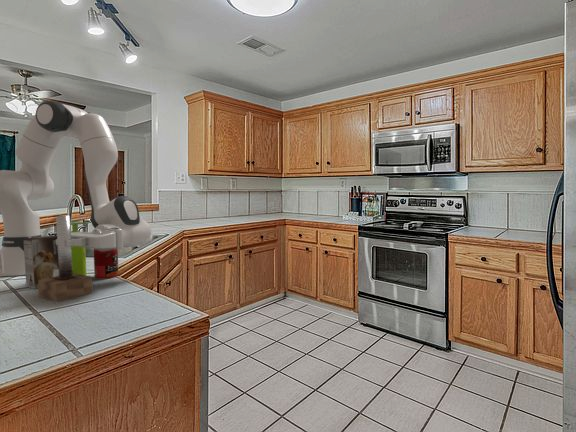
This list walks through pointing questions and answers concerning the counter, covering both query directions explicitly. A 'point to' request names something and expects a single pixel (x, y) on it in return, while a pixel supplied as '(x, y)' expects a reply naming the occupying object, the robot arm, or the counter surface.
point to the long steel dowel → (63, 250)
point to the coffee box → (40, 259)
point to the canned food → (105, 264)
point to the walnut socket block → (65, 287)
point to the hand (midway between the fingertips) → (61, 242)
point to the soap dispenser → (78, 254)
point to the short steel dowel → (55, 272)
